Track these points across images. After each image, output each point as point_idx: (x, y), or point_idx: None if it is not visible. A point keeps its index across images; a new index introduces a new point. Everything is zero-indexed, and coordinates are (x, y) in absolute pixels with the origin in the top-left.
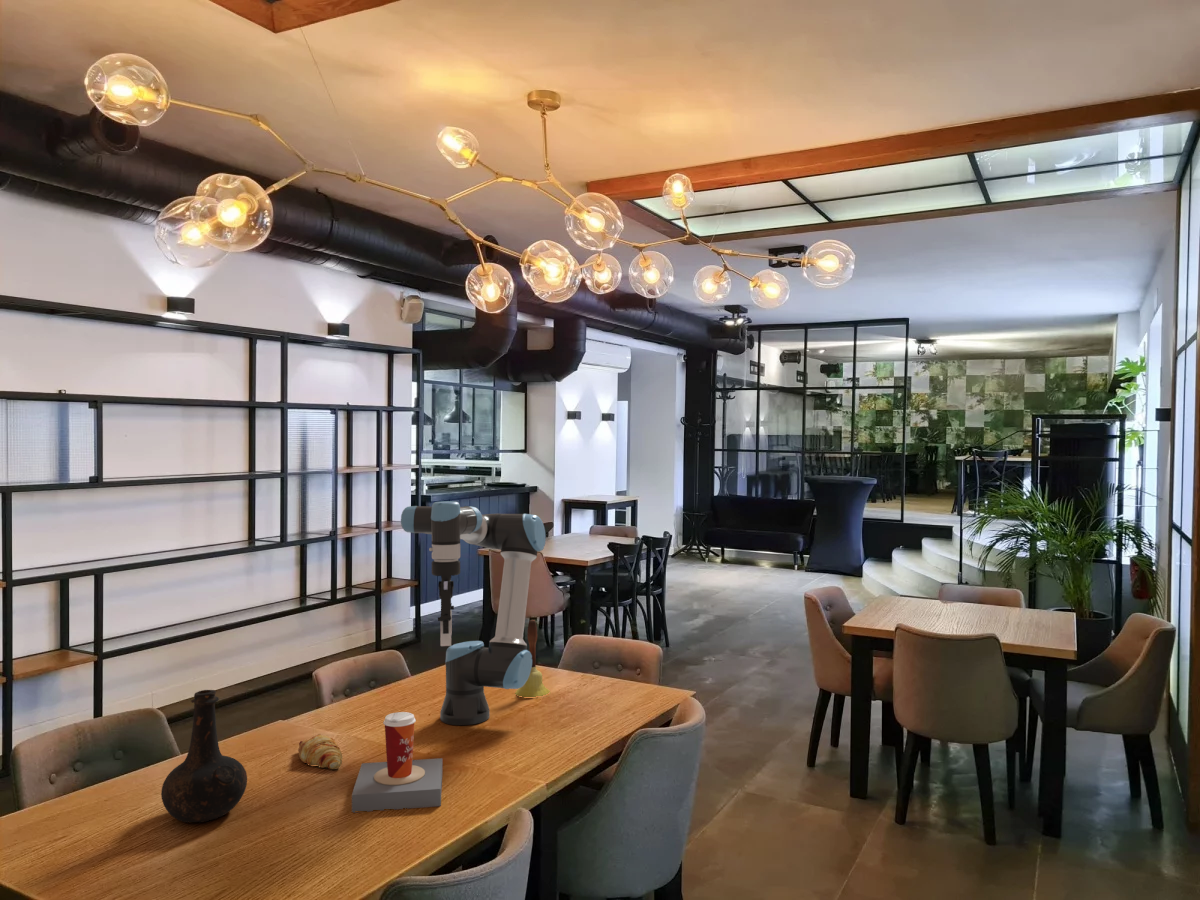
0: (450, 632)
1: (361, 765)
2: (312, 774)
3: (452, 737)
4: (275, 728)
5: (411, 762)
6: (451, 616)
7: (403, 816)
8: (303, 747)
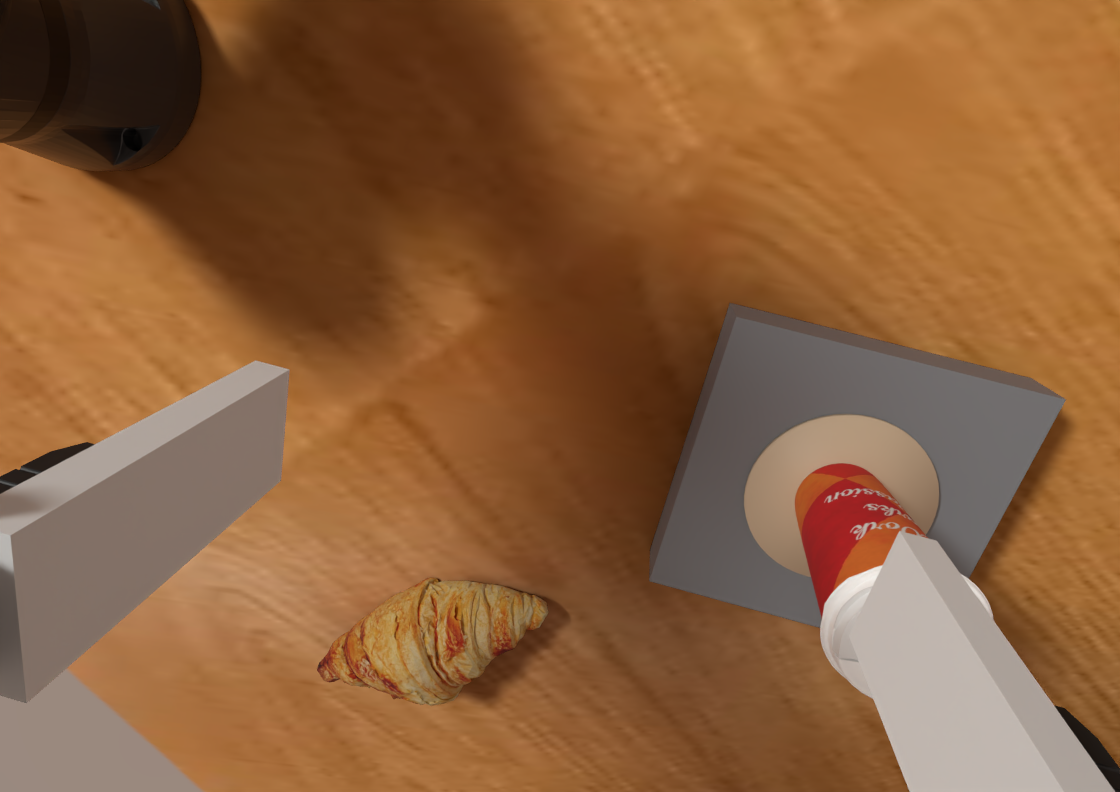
0: (1014, 669)
1: (670, 585)
2: (544, 657)
3: (338, 169)
4: (111, 682)
5: (882, 487)
6: (110, 478)
7: (1034, 501)
8: (435, 704)
